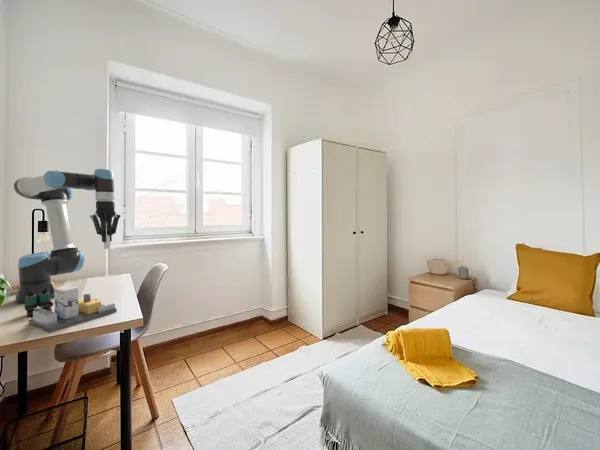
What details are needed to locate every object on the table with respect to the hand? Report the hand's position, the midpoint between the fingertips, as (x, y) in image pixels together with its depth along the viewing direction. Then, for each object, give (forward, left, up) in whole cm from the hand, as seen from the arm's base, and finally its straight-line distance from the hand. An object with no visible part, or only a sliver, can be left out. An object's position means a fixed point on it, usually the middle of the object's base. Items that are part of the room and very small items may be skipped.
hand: (107, 248), depth 137 cm
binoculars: (-8, -24, -27) cm, 37 cm away
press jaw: (+11, -14, -25) cm, 31 cm away
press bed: (+11, -19, -26) cm, 34 cm away
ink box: (+11, -22, -25) cm, 35 cm away
